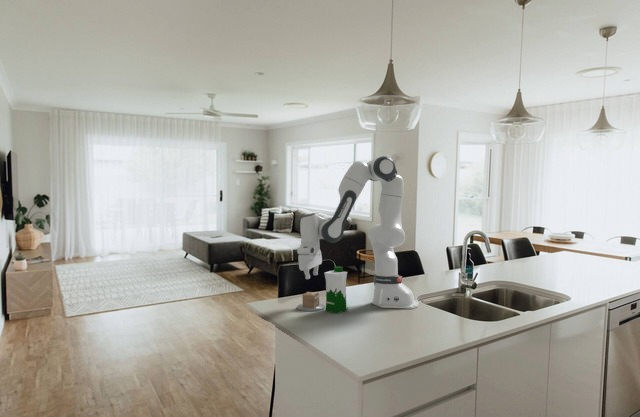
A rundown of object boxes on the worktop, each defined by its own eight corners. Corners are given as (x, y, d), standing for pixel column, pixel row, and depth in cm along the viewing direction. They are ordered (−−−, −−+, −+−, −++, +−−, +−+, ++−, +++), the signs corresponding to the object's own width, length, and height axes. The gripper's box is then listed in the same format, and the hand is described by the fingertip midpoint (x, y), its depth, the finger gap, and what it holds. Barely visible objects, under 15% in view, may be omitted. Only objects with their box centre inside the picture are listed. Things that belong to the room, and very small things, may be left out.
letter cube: (307, 304, 203) (307, 291, 203) (319, 305, 201) (319, 292, 201) (302, 307, 197) (302, 294, 197) (314, 308, 195) (314, 295, 195)
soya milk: (349, 310, 194) (349, 267, 193) (336, 314, 187) (336, 269, 187) (335, 307, 200) (334, 265, 199) (322, 311, 193) (321, 267, 193)
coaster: (328, 305, 203) (328, 304, 203) (318, 312, 191) (318, 310, 191) (303, 303, 208) (303, 301, 208) (292, 310, 195) (292, 308, 195)
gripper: (312, 245, 209) (313, 272, 210) (295, 250, 190) (296, 281, 191) (324, 245, 207) (325, 272, 207) (308, 250, 188) (309, 281, 188)
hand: (311, 276), depth 199 cm, fingers open, 8 cm apart
